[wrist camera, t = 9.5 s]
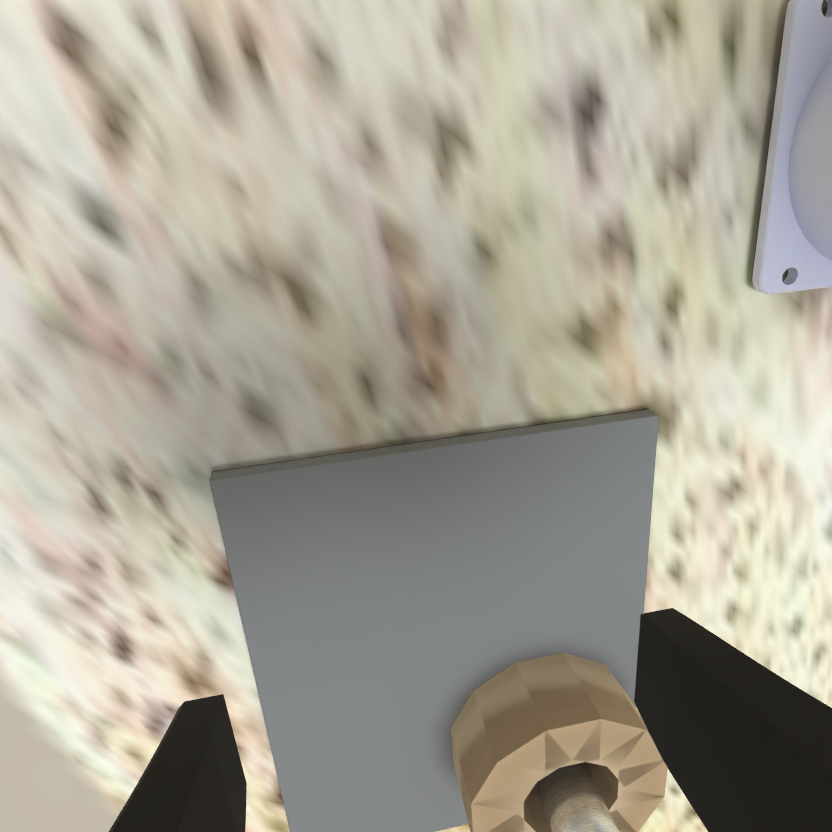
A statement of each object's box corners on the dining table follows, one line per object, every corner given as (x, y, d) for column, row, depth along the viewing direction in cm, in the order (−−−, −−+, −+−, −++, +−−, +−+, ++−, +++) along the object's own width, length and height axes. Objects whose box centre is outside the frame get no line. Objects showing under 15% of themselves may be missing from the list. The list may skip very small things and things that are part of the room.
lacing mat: (649, 409, 20) (658, 415, 19) (623, 773, 26) (630, 786, 26) (212, 471, 18) (209, 481, 18) (297, 847, 24) (297, 863, 24)
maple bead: (629, 639, 23) (674, 703, 20) (620, 772, 25) (659, 844, 23) (446, 675, 22) (467, 747, 19) (456, 809, 24) (476, 889, 22)
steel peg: (549, 698, 23) (662, 940, 16) (573, 727, 24) (692, 970, 16) (505, 727, 23) (598, 979, 16) (531, 754, 24) (630, 1007, 17)
